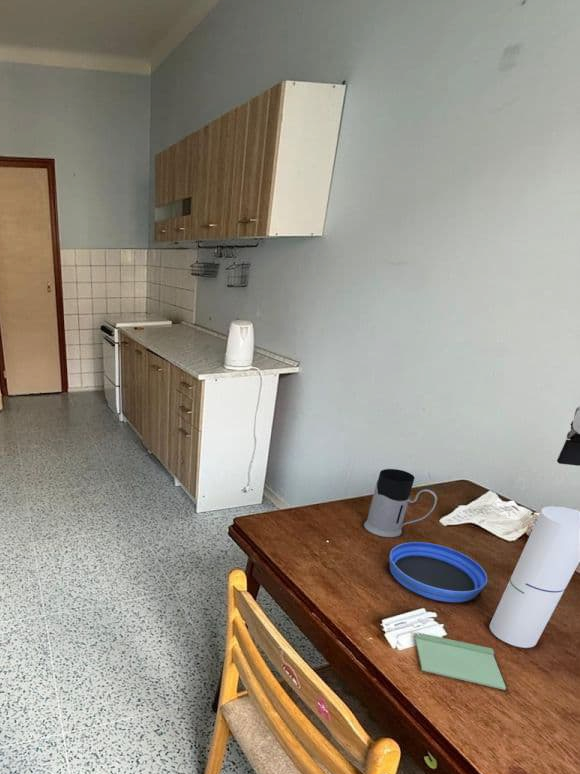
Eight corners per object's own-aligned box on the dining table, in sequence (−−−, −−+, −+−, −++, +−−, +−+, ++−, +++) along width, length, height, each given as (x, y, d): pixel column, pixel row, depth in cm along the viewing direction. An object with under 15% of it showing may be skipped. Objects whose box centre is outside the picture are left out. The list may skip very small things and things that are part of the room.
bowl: (368, 565, 107) (371, 552, 105) (426, 548, 113) (430, 535, 111) (439, 614, 92) (444, 600, 91) (502, 592, 98) (508, 578, 96)
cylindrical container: (528, 653, 83) (591, 533, 71) (482, 630, 88) (534, 515, 76) (542, 636, 87) (605, 518, 75) (498, 615, 92) (549, 502, 80)
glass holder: (374, 516, 126) (387, 464, 119) (430, 537, 117) (448, 483, 110) (357, 527, 122) (370, 474, 115) (414, 550, 112) (432, 494, 105)
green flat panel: (490, 651, 84) (492, 647, 83) (505, 690, 76) (507, 686, 76) (414, 634, 88) (415, 630, 87) (421, 670, 80) (423, 666, 80)
